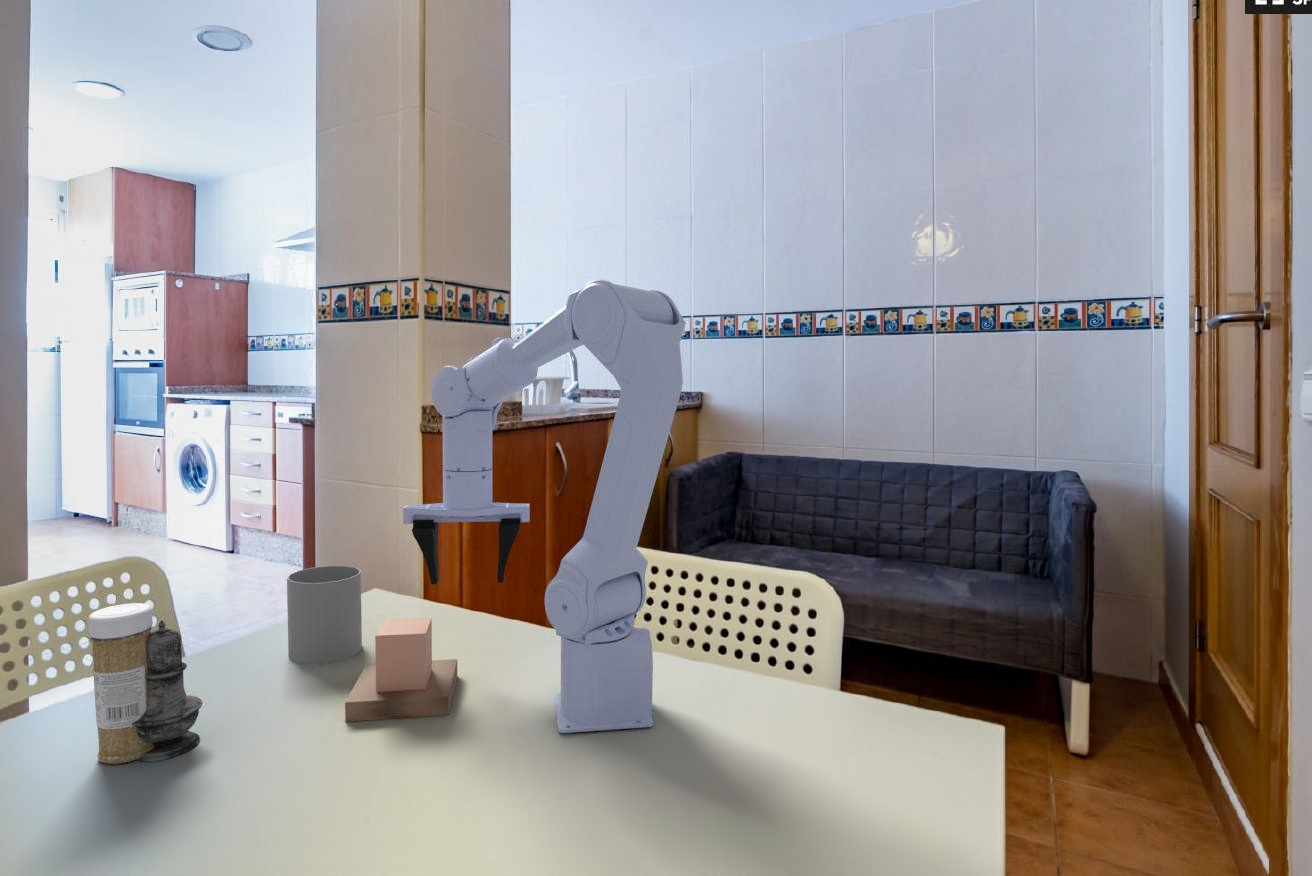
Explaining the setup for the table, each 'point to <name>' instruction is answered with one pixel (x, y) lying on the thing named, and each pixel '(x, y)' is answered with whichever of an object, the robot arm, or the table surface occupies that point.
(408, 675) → the block
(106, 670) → the sprinkles bottle
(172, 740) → the salt shaker
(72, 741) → the table surface
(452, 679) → the board
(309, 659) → the cup
